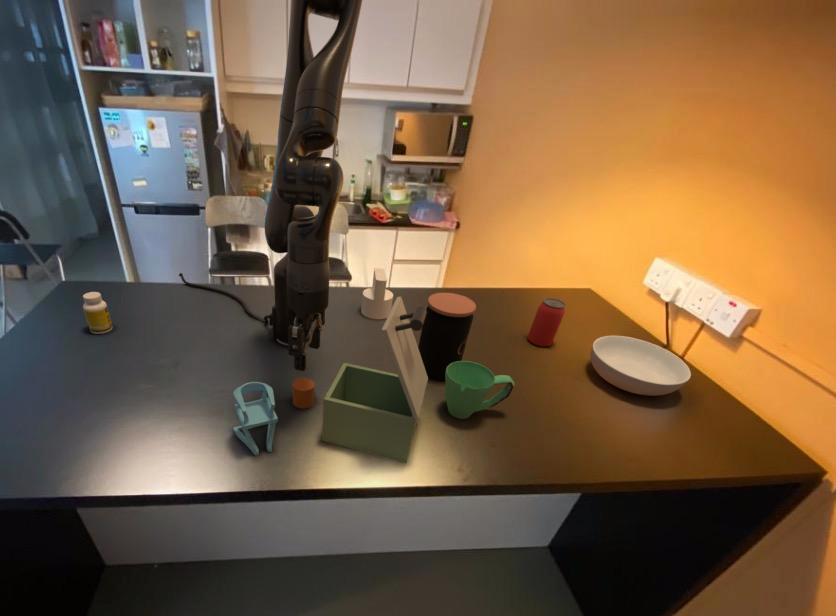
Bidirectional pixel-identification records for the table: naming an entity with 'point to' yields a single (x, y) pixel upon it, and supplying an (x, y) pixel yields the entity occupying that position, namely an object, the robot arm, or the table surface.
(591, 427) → the table surface
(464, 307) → the coffee jar
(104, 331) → the supplement bottle
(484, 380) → the mug
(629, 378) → the serving bowl
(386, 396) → the pale green hollow box
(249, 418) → the chair
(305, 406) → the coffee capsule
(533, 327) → the beer can
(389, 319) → the box lid
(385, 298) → the base with upright slab
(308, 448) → the table surface
